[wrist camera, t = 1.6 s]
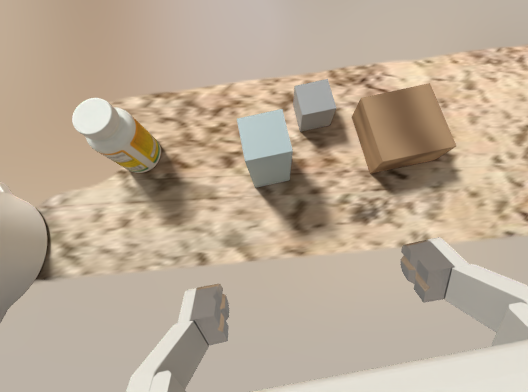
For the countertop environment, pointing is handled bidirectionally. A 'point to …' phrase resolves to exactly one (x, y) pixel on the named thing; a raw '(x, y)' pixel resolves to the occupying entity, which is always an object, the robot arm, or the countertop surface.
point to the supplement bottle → (116, 135)
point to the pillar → (266, 147)
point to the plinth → (401, 128)
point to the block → (314, 105)
